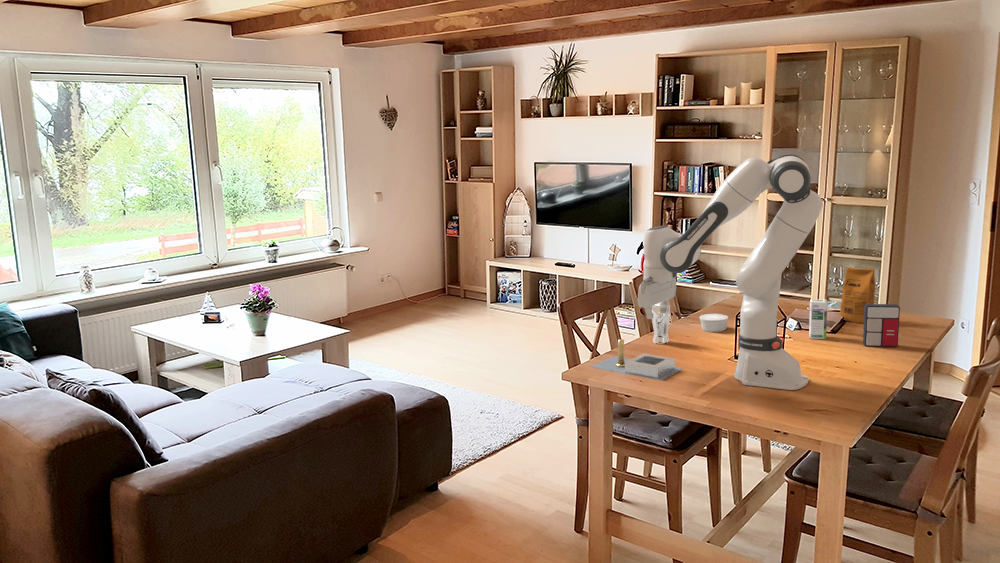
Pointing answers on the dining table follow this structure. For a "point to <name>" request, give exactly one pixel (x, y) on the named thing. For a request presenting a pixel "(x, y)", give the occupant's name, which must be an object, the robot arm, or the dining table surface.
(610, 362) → the keeper board
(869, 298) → the coffee package
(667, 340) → the beer glass
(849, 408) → the dining table surface
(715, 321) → the ramekin
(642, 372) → the grey recessed tray
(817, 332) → the syrup box
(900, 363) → the dining table surface
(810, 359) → the dining table surface
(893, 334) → the calculator
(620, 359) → the brass peg
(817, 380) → the dining table surface
